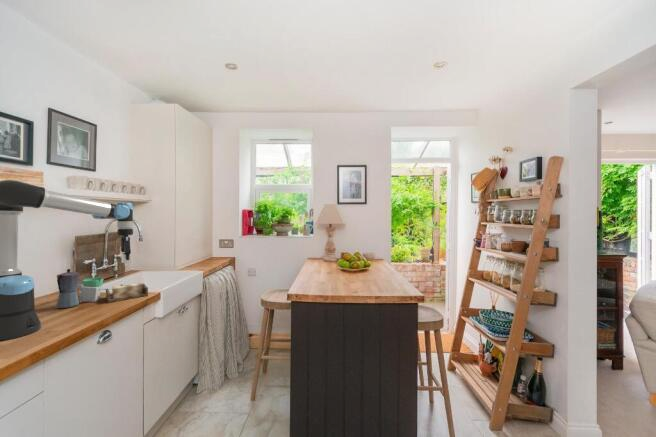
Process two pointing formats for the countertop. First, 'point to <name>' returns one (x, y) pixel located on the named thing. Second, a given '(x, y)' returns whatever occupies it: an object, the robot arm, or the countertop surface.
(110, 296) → the cradle
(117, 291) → the tan rectangular block
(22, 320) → the robot arm
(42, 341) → the countertop surface
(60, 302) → the moka pot
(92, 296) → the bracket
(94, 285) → the green lidded container
